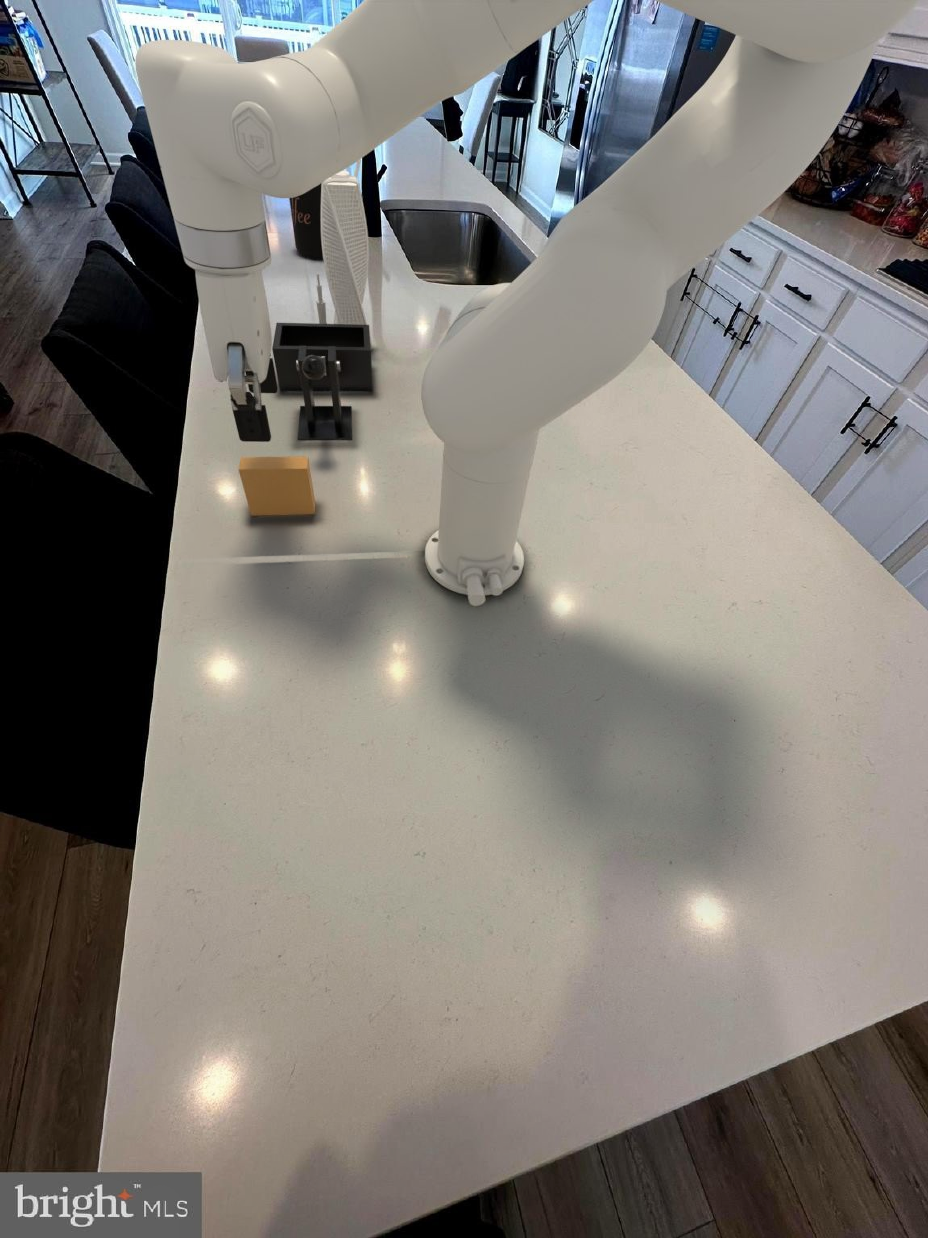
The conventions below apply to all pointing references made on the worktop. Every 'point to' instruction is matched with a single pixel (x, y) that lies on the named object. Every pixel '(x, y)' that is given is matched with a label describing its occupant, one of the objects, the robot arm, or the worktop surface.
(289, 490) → the orange square tile
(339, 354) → the black open box
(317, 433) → the lever bracket
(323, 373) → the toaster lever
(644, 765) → the worktop surface
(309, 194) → the coffee jar
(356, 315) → the skyscraper
